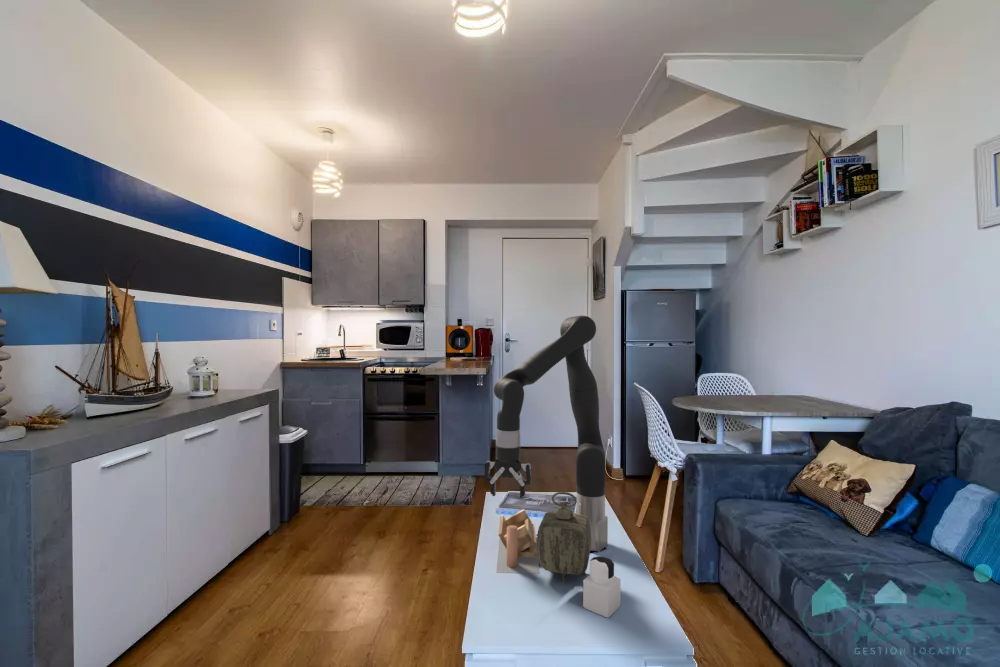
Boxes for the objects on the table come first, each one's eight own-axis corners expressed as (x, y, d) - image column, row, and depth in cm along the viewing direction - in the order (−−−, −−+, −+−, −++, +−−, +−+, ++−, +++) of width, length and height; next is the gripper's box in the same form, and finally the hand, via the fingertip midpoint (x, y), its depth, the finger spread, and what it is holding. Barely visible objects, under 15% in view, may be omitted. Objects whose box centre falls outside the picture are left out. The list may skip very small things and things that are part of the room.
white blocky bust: (595, 595, 124) (595, 550, 123) (620, 605, 119) (621, 559, 119) (582, 607, 118) (582, 561, 118) (608, 619, 114) (608, 570, 113)
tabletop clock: (591, 575, 133) (591, 489, 133) (588, 593, 124) (588, 500, 124) (541, 568, 137) (541, 484, 137) (535, 585, 128) (535, 495, 128)
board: (539, 577, 132) (539, 573, 132) (496, 576, 133) (496, 572, 133) (536, 540, 155) (536, 536, 155) (499, 539, 156) (499, 536, 156)
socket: (535, 537, 155) (535, 509, 155) (536, 557, 141) (536, 526, 141) (500, 536, 155) (500, 508, 155) (498, 556, 142) (498, 525, 142)
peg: (519, 564, 137) (519, 527, 137) (512, 568, 135) (513, 531, 135) (511, 560, 139) (511, 524, 139) (504, 565, 137) (504, 528, 137)
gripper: (532, 441, 144) (532, 493, 145) (487, 439, 147) (487, 490, 147) (529, 448, 137) (529, 502, 137) (482, 445, 140) (482, 499, 140)
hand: (507, 496), depth 142 cm, fingers open, 8 cm apart
